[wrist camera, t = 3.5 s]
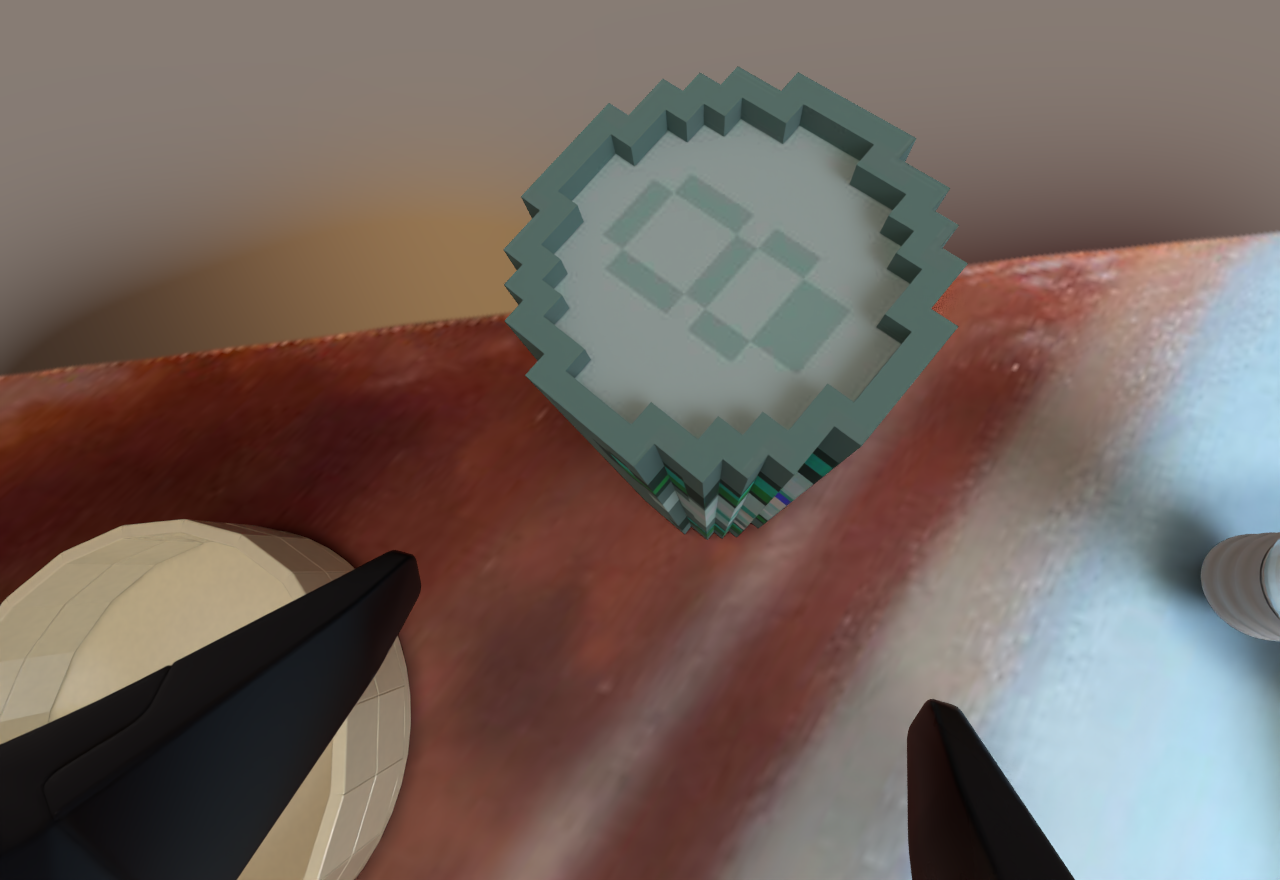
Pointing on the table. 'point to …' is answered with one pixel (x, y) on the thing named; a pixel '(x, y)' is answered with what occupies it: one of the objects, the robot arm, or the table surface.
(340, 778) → the pan
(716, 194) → the can
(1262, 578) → the light bulb
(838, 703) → the table surface
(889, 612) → the table surface
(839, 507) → the table surface
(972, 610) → the table surface
